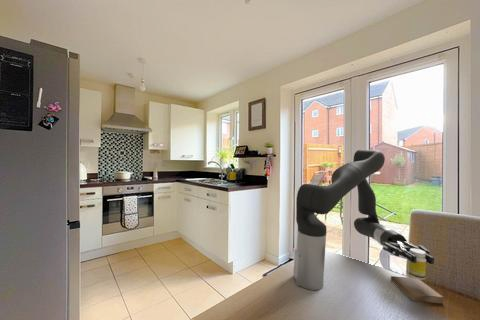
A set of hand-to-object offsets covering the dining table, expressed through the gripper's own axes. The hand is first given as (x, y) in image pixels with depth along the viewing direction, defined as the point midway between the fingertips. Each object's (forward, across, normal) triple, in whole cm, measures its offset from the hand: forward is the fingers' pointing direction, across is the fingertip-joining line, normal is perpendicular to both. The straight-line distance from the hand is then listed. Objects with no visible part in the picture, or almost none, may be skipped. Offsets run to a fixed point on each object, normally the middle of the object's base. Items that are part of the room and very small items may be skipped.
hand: (423, 260), depth 67 cm
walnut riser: (-2, 0, +12) cm, 12 cm away
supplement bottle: (-3, 0, +7) cm, 7 cm away
